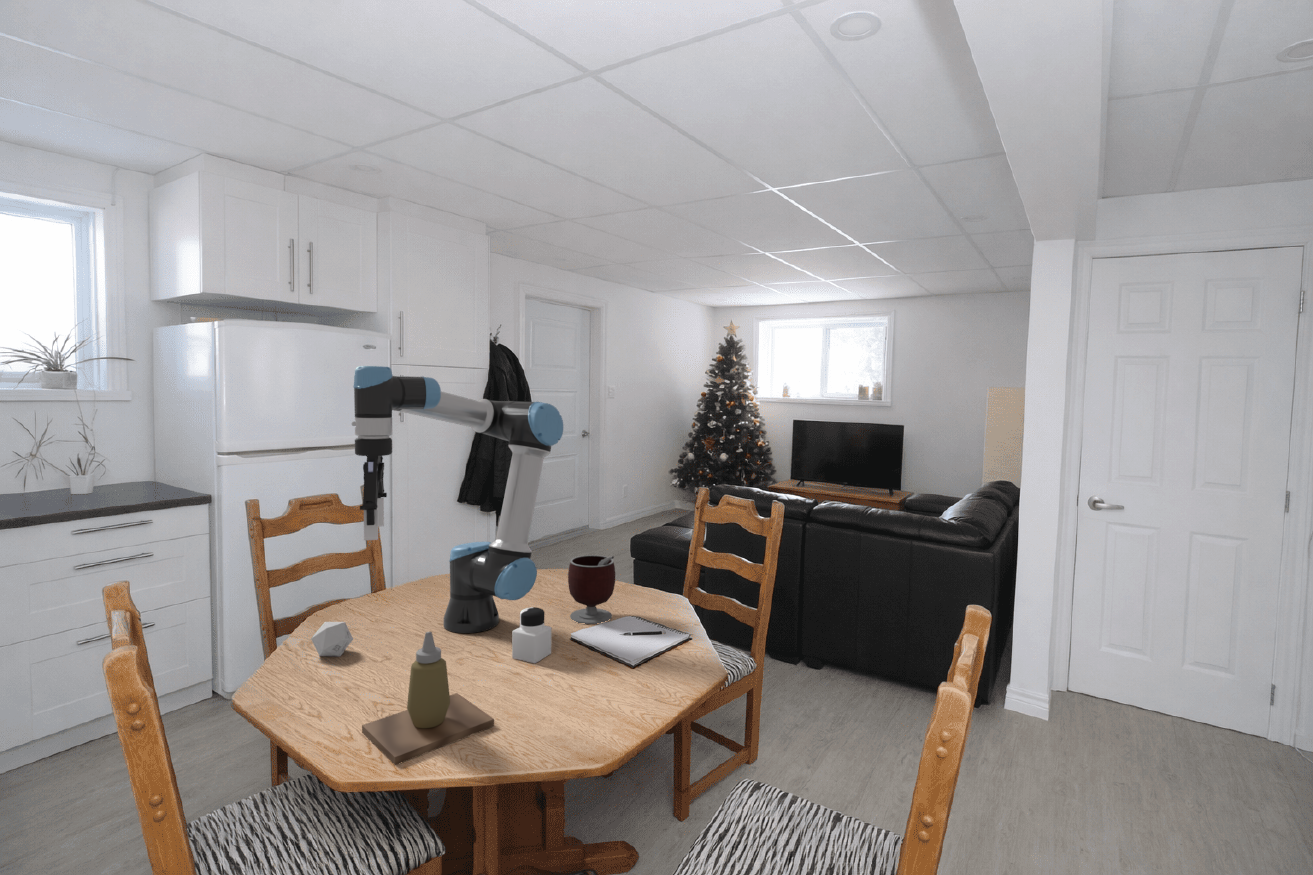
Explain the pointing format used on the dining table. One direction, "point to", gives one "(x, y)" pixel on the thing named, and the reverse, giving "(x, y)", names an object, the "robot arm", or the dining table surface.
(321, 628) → the die
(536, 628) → the medicine bottle
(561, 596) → the dining table surface
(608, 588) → the mate gourd
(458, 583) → the robot arm
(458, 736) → the walnut board
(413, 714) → the squeeze bottle
